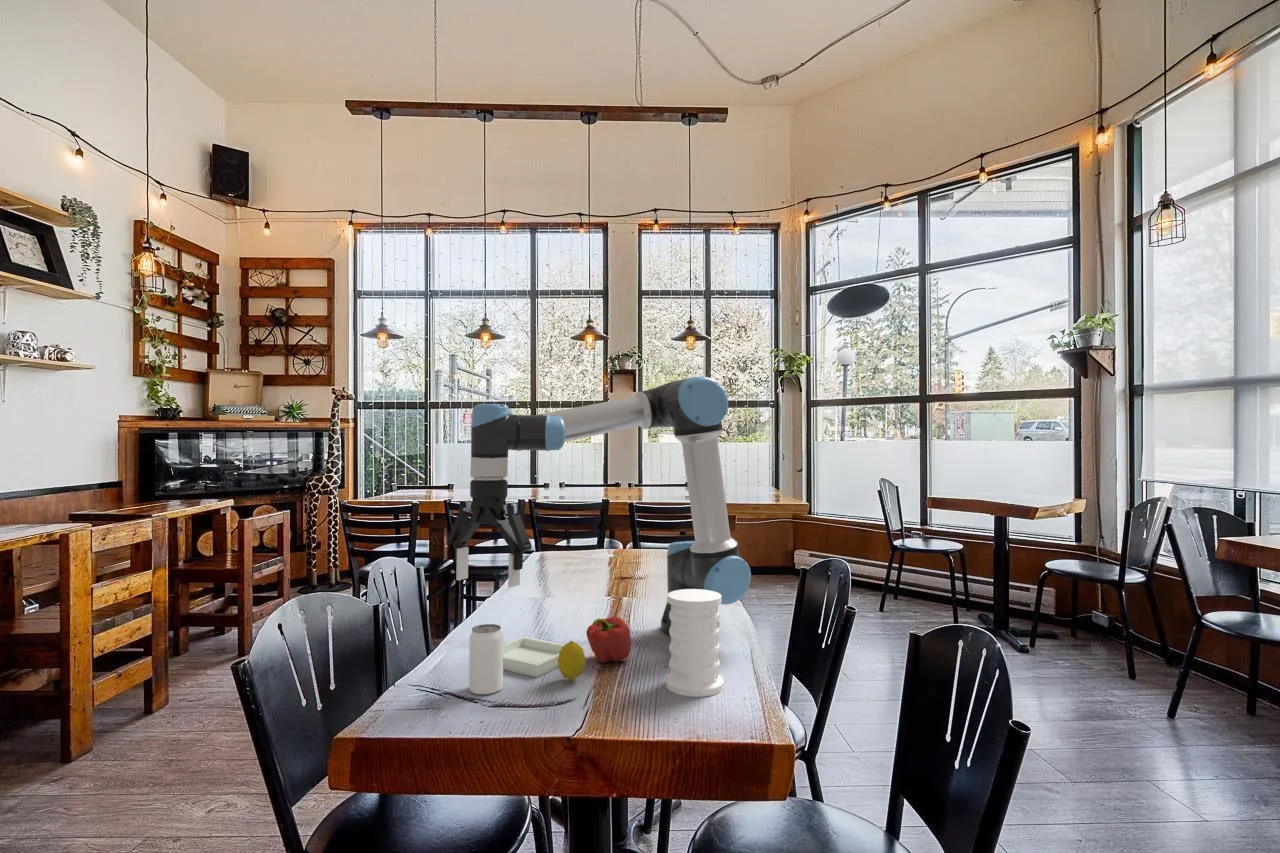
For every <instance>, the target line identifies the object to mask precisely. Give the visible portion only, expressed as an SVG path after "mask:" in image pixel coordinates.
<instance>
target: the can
mask: <svg viewBox="0 0 1280 853" xmlns="http://www.w3.org/2000/svg"><path fill="white" fill-rule="evenodd" d="M503 644H504V634H503V631H502V627H501V625H499V624H495V623H494V624H493V623H486V624H479V625H476V626H473V627H471V634H470V635H469V652H468V653H469V656H468V657H469V660H468V662H469V664H468V665H469V666H468V668H469V670H468V673H469V676H468V681H469V682H468V689H469V691H470V693H471V694H474V695H477V696H487V695H488V696H489V695H494V694H496V693H499V692H500V691H501V690H502V689H503V686H504V670H503Z"/></svg>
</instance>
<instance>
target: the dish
mask: <svg viewBox="0 0 1280 853" xmlns="http://www.w3.org/2000/svg"><path fill="white" fill-rule="evenodd" d="M564 645H565V644H564V643H559V642H555V641H548V640H545V639H544V640H543V639H538V638H533V637H530V636H529V637H528V636H520V637H518V638H515V639H513V640H510V641H507V642H505V643H503V671H508V672H511V673H512V672H513V673H515V674H516V673H517V674H521V675H525V676H529V677H535V678H541V677H543V676H545V675H546V674H549V673H551V672H553V671H554V670H557V669H559V667H558V657H559V653H560V650H561V648H562V647H563V646H564Z"/></svg>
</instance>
